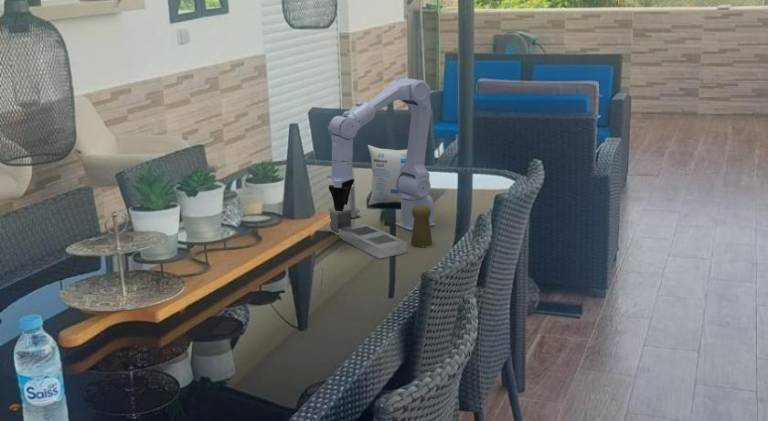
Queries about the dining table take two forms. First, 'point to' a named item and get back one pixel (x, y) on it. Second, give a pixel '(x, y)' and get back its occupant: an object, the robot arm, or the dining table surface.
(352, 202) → the screw
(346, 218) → the grey rectangular block
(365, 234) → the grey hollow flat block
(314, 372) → the dining table surface
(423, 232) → the cork
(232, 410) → the dining table surface
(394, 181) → the pouch
